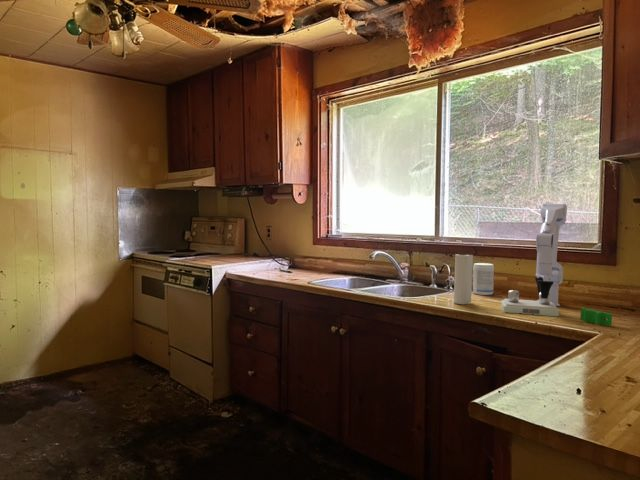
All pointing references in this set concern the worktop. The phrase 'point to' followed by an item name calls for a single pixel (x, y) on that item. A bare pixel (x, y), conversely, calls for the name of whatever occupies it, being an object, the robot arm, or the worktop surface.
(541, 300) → the spacer
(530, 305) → the scale
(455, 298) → the paper towel roll
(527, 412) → the worktop surface
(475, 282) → the supplement tub
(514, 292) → the spacer
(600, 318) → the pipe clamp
